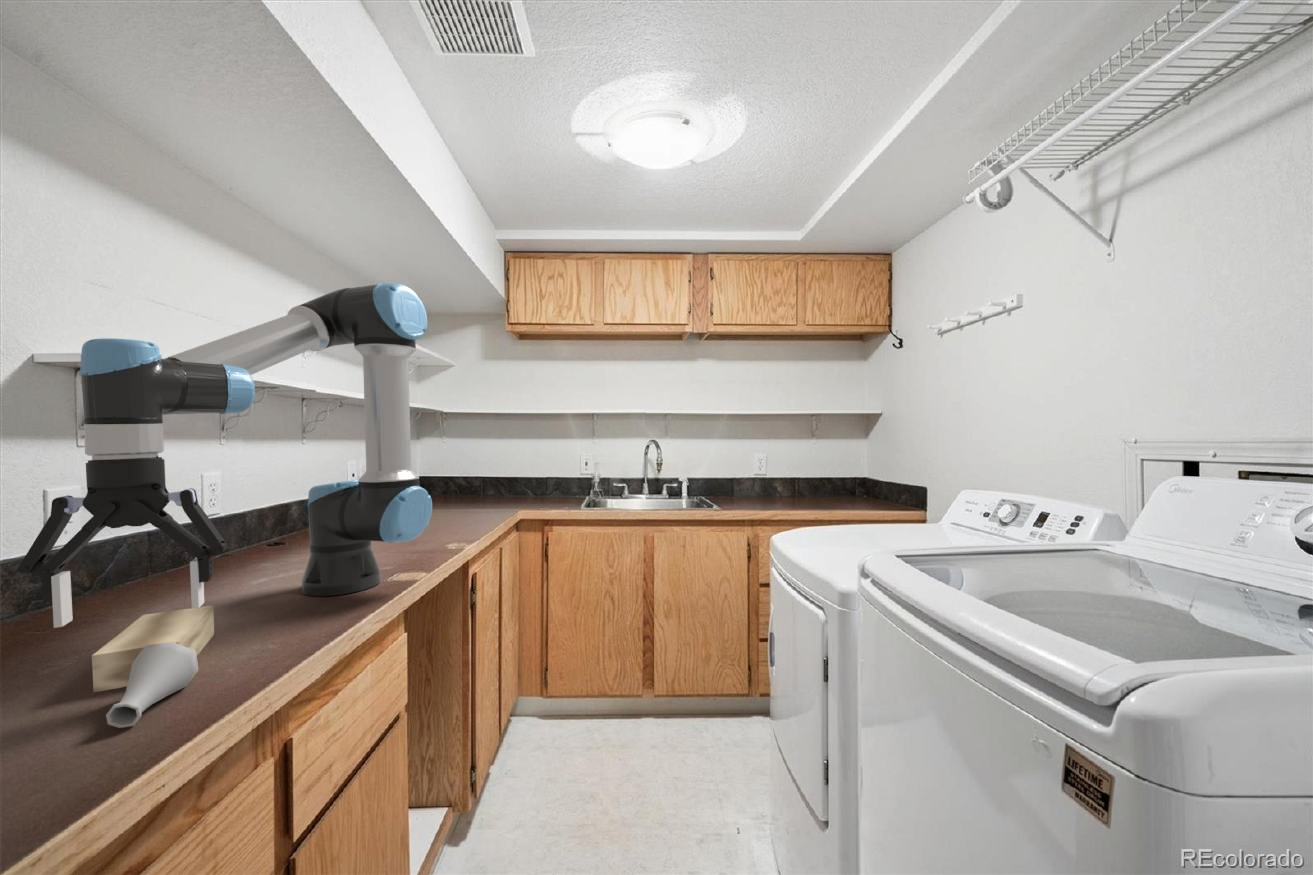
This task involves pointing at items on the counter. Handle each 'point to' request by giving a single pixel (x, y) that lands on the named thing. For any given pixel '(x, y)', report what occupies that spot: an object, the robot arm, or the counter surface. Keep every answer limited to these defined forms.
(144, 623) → the block
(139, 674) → the flask
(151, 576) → the counter surface
